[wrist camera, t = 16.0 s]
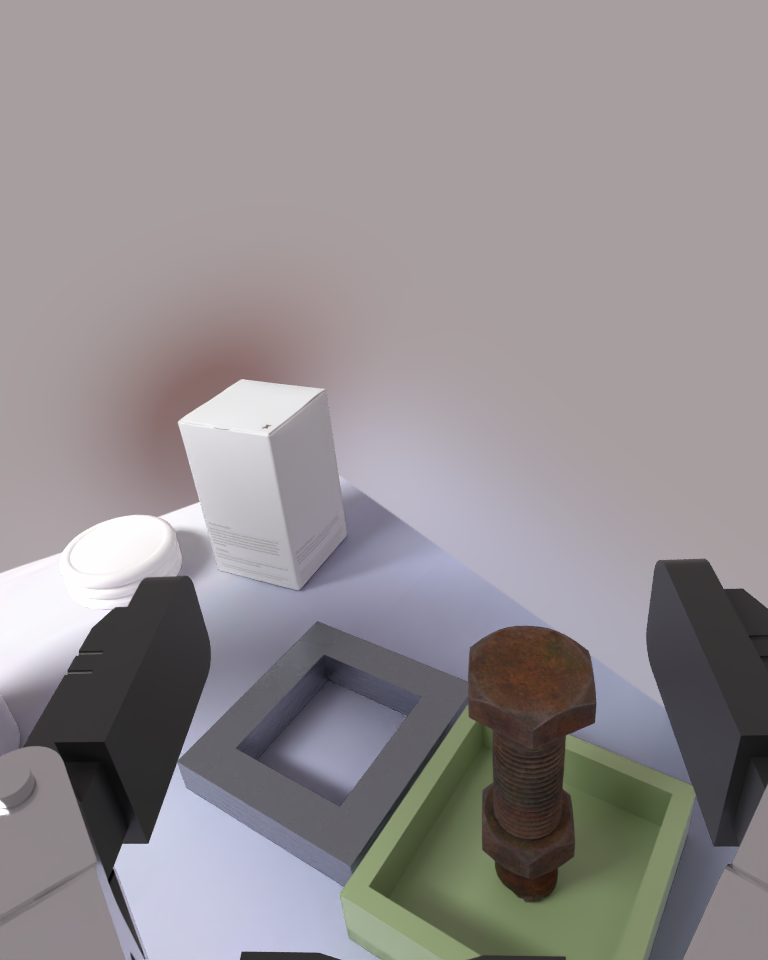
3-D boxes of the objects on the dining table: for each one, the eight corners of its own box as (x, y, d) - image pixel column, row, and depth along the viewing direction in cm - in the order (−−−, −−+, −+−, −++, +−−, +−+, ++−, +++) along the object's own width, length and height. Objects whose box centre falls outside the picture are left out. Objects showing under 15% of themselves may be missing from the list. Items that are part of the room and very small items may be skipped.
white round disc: (180, 532, 70) (171, 502, 68) (188, 593, 62) (178, 561, 60) (72, 558, 68) (61, 528, 66) (66, 625, 60) (52, 593, 58)
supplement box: (351, 534, 67) (330, 386, 59) (300, 593, 60) (269, 435, 53) (270, 517, 71) (241, 375, 63) (214, 570, 64) (174, 419, 57)
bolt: (546, 812, 40) (555, 608, 33) (602, 895, 36) (628, 683, 29) (453, 856, 39) (439, 651, 31) (501, 947, 35) (499, 737, 27)
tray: (349, 938, 37) (339, 894, 34) (475, 739, 46) (473, 695, 44) (602, 1107, 30) (609, 1065, 28) (687, 833, 40) (697, 787, 38)
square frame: (186, 787, 45) (176, 761, 44) (322, 646, 55) (317, 621, 53) (355, 893, 38) (350, 866, 37) (475, 711, 48) (474, 685, 47)
